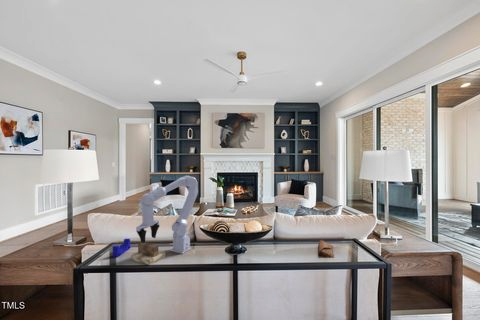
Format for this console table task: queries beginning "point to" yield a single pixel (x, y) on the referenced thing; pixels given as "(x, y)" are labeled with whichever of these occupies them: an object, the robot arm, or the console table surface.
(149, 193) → the robot arm
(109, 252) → the console table surface
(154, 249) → the walnut bar
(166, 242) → the console table surface
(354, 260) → the console table surface
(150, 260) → the cutout board
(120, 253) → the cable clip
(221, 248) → the console table surface
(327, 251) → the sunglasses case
